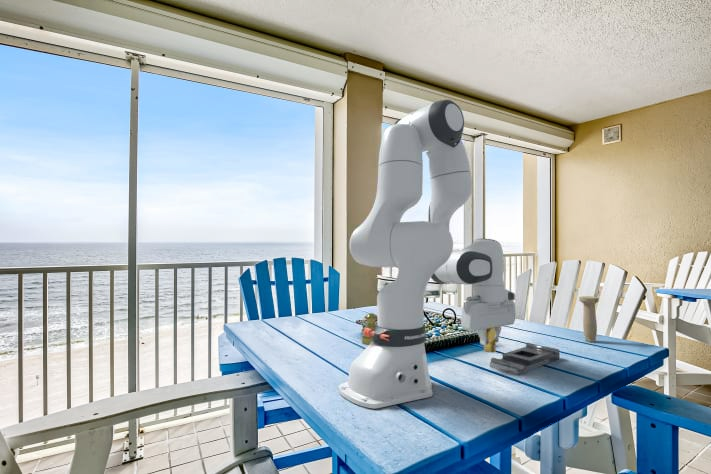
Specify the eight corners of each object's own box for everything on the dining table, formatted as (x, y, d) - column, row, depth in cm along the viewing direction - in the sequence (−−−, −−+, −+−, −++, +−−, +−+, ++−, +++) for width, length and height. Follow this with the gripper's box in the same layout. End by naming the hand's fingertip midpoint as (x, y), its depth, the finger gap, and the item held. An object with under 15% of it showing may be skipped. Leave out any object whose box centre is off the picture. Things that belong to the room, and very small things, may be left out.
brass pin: (491, 352, 101) (490, 327, 102) (481, 350, 104) (481, 325, 104) (498, 351, 103) (497, 326, 103) (488, 348, 106) (488, 324, 106)
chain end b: (532, 370, 95) (531, 358, 95) (501, 362, 102) (500, 350, 103) (561, 359, 104) (561, 347, 104) (531, 352, 112) (530, 341, 112)
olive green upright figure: (386, 341, 128) (385, 312, 128) (375, 346, 122) (375, 316, 122) (368, 338, 132) (367, 311, 132) (357, 343, 126) (356, 314, 126)
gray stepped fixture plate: (519, 375, 92) (519, 367, 92) (488, 366, 99) (488, 358, 99) (551, 363, 101) (550, 355, 101) (520, 355, 108) (520, 348, 108)
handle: (577, 340, 124) (575, 297, 125) (589, 338, 127) (587, 295, 128) (591, 344, 120) (590, 298, 120) (603, 341, 123) (601, 297, 123)
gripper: (473, 298, 96) (474, 350, 95) (519, 293, 107) (520, 340, 107) (455, 296, 102) (456, 345, 101) (500, 292, 113) (501, 337, 112)
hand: (489, 343), depth 104 cm, fingers closed on brass pin, 3 cm apart
